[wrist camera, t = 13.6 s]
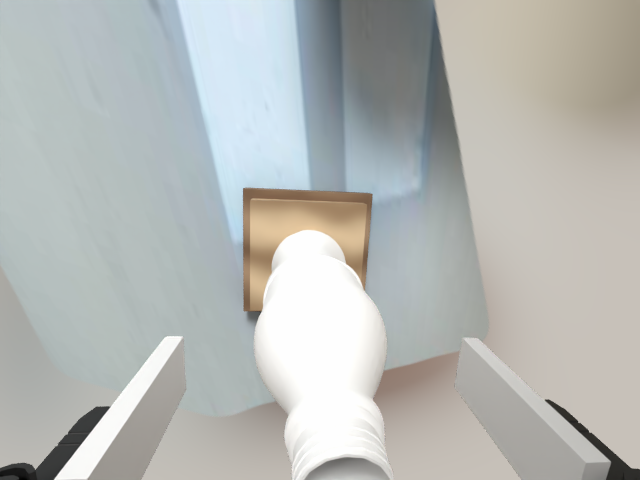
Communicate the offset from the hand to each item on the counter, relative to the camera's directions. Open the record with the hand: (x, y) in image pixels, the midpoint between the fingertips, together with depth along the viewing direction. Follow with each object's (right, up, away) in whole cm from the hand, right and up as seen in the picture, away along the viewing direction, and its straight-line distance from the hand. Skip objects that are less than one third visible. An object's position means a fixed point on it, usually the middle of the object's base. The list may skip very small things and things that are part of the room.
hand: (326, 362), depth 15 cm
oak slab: (-2, +4, +20) cm, 21 cm away
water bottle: (-2, +4, +19) cm, 19 cm away
